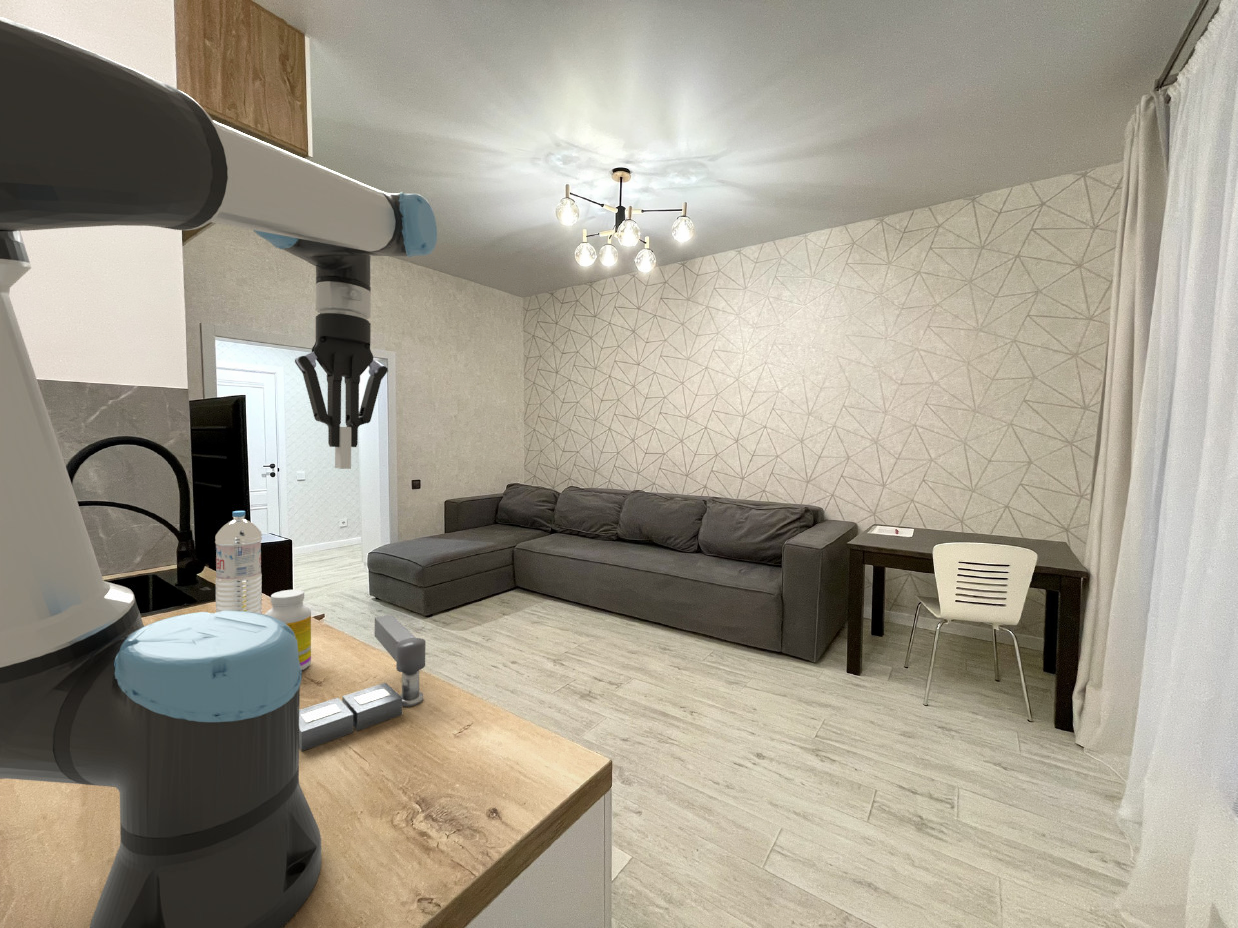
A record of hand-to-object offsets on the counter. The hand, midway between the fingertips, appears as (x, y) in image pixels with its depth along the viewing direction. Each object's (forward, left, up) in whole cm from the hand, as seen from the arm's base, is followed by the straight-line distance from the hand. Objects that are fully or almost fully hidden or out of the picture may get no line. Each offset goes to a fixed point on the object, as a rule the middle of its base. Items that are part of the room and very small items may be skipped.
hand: (343, 468), depth 79 cm
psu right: (0, -13, -34) cm, 37 cm away
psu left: (-6, -13, -34) cm, 37 cm away
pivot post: (+6, -13, -34) cm, 37 cm away
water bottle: (-9, +28, -35) cm, 45 cm away
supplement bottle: (-5, +11, -35) cm, 37 cm away
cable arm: (+6, -7, -29) cm, 31 cm away
